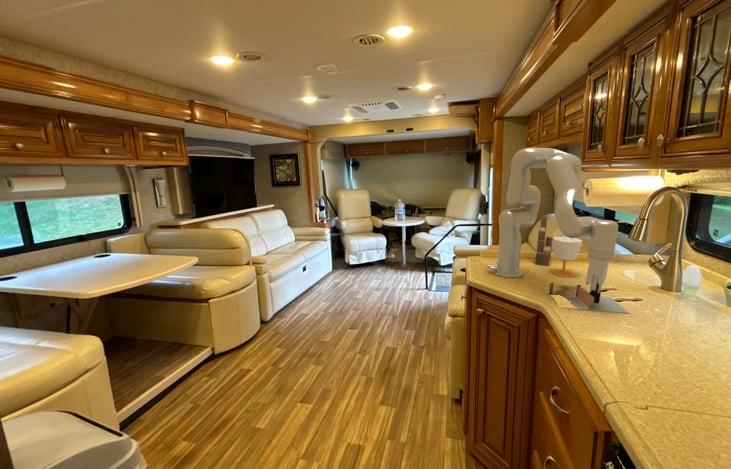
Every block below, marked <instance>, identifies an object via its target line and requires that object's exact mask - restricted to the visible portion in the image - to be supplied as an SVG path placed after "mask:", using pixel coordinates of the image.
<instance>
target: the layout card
mask: <svg viewBox="0 0 731 469" xmlns="http://www.w3.org/2000/svg"><path fill="white" fill-rule="evenodd" d="M562 297H564V298H566V299H567V300H568V301H571V302H570V303H571V304H572V305H574V307H577V309H576V310H580V309H583V311H592V312H593V311H594V312H606V313H617V314H630V312H629V311H628V310H626V308H625V307H623V306H621V305H620V304H619V303H618V302H617V301H616V300H614V299H613V298H612V297H608V296H607V297H606V296H600V302H599V303H598V304H597V303H594V304H593V308H592V309H591V308H589V307H588V306H587V305H586V304H584V303H583V302H582V301H581V300H580V299H579V298H578V297H576V294H574V297H572V296H562Z"/></svg>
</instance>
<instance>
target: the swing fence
mask: <svg viewBox="0 0 731 469" xmlns="http://www.w3.org/2000/svg"><path fill="white" fill-rule="evenodd" d="M589 293H590V292H589V291H587V290H586V289H585V288H584V287H583V286H581V287H578V294H577V297H578V298H579V299H580V300H581V301H582V302H583V303H584V304H586V305H587V306H588V307H589V308H591V309H592V308H593V304H594V296H592V295H590V294H589Z"/></svg>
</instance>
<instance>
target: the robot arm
mask: <svg viewBox="0 0 731 469" xmlns="http://www.w3.org/2000/svg"><path fill="white" fill-rule="evenodd" d="M582 167H583V164H582V161H581V159H580V158H579V157H578V156H577V155H574V154H571V153H568V152H565V151H562V150H559V149H556V148H552V147H526V148H522V149H520V150H518V151H517V152H516V153H515V154H514V156H513V157H512V160H511V164H510V175H509V179H508V186H507V189H506V190H507V191H506V196H505V199H506V204H508V205H509V206H510V207H512V208H508V209H505V210H503V211H501V213H499V215H498V227H499V241H498V253H497V254H498V255H497V262H496V263H495V264H494V263H493V264H486V268H487V269H490V270H493V274H494V275H496V276H498V277H503V278H508V279H516V278H517V279H518V278H520V277H522V276H523V272H522V271H521V270H520V263H521V261H520V260H521V251H522V250H521V249H522V235H521V231H520V229H525V228H530V227H532V226H534V224H535V222H536V220H537V216H538V212H539V208H540V204H541V198H542V195H541V191H540V189H539V188H538V187H537V186H536V185H532V184H531V178H532V176H531V175H532V174H531V170H530V169H545V171H546V173H547V176H548V179H549V181H550V184H551V186H552V188H553V191H554V193H555V195H556V198H555V204H554V218H555V221H556V222H557V225H558V228H559V230H560V231H561V233H562V234H563V235H564V237H569V238H577V239H579V238H586V237H590V239H589V246H588V253H587V258H588V259H590V260H589V264H588V268H587V274H586V279H585V285H586V286H589V285H590V289H589V292H588V293H589V294H590V295H592V296H594V303H597V304H598V303H599V302H600V297H601V293H602V292H601V291H602V287H603V285H604V284H605V282H606V278H607V274H608V269H609V262H613V261H614V258H615V250H616V244H617V238H618V237H617V236H618V230H619V224H618V222H617V221H614V220H610V219H609V220H608V219H600V218H597V217H593V216H579V217H577V215H576V212H575V209H574V207H573V206H574V204H573V203H574V199H575V197H576V196H577V195H579V193H580V192H581V190H582V187H581V184H580V182H579V180H578V178H577V176H576V175H578V174H579V173H580V172H581V170H582ZM513 207H514V208H513Z"/></svg>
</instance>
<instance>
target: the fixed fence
mask: <svg viewBox="0 0 731 469" xmlns="http://www.w3.org/2000/svg"><path fill="white" fill-rule="evenodd" d="M578 287H582V285H581V284H576V286H575V285H566V284H565V285H563V284H555V283H554V282H549V290H548V295H549V294H550V295H560V296H572V297H574V295H576V297H577V294H578ZM550 295H549V296H550Z"/></svg>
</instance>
